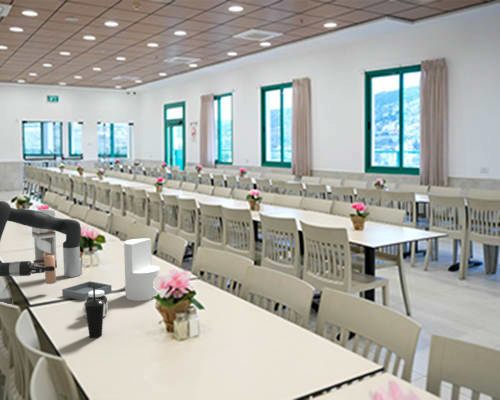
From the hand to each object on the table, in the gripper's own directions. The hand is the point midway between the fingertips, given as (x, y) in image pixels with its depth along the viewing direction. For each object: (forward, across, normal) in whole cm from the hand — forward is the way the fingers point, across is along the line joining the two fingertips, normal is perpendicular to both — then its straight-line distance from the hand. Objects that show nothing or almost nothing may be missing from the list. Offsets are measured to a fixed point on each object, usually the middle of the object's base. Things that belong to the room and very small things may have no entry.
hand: (55, 267), depth 257 cm
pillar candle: (-3, 0, +8) cm, 8 cm away
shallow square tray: (+16, -4, +14) cm, 22 cm away
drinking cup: (+27, -65, +14) cm, 72 cm away
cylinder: (+44, -12, +14) cm, 48 cm away
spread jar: (+24, -41, +14) cm, 50 cm away
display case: (-21, +71, +15) cm, 76 cm away
